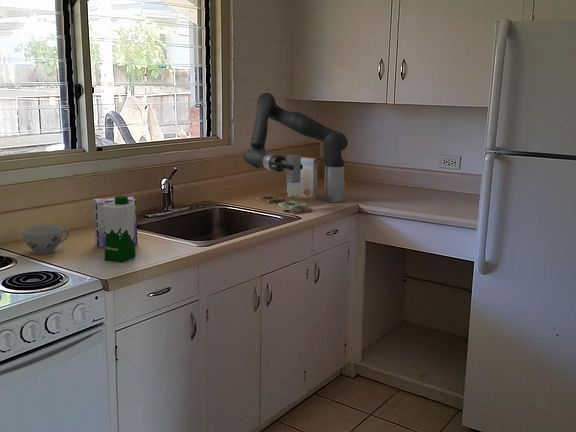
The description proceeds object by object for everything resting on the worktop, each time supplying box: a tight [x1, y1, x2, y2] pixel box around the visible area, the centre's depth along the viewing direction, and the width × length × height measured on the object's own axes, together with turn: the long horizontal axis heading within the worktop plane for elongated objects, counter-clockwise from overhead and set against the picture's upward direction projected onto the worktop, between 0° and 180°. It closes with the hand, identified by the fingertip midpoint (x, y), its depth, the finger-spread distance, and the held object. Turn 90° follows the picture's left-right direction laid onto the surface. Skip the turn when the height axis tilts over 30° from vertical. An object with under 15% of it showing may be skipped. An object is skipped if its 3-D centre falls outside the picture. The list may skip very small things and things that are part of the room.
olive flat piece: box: [255, 195, 313, 215], centre depth 283 cm, size 10×30×3 cm, turn 38°
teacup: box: [21, 224, 70, 255], centre depth 205 cm, size 15×12×8 cm
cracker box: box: [286, 156, 319, 201], centre depth 299 cm, size 14×6×21 cm, turn 65°
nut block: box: [285, 154, 302, 183], centre depth 273 cm, size 4×4×12 cm
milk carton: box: [100, 195, 136, 263], centre depth 196 cm, size 9×9×20 cm
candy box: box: [93, 196, 138, 249], centre depth 213 cm, size 14×6×16 cm, turn 114°
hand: (297, 167), depth 270 cm, fingers closed on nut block, 4 cm apart
